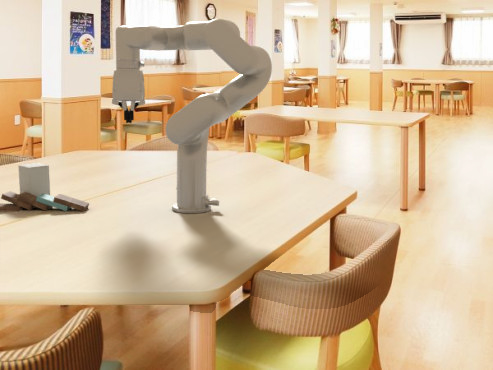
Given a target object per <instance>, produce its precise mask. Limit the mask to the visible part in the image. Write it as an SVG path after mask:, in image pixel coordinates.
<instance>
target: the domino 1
mask: <svg viewBox="0 0 493 370" xmlns="http://www.w3.org/2000/svg"><path fill="white" fill-rule="evenodd" d="M22 208H23V207H21V206H18V205H16V204H13V203H3V202H2V203H0V212H20V211H22V210H23V209H24V208H23V209H22ZM21 209H22V210H21Z"/></svg>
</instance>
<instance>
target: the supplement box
mask: <svg viewBox="0 0 493 370" xmlns="http://www.w3.org/2000/svg"><path fill="white" fill-rule="evenodd" d="M17 167H18V180H19V183H18V184H19V194H20V193H23V192H28V193H30V194H33V195H35V196H39V195H41V194H42V193H44V194H47V195H50V196H51V185H50V181H51V180H50V165H48V164H44V163H41V162H33V163H25V164H18V166H17Z"/></svg>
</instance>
